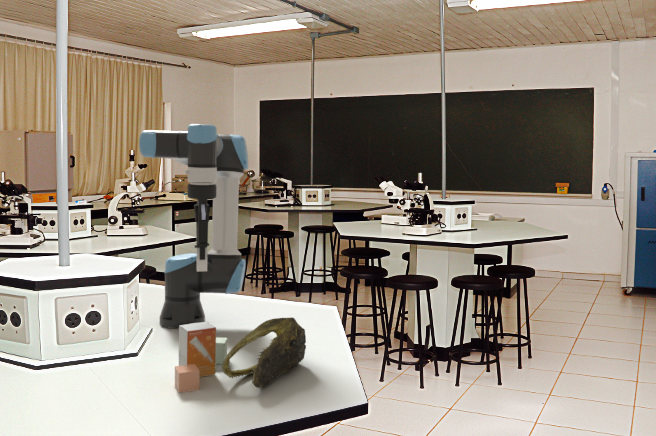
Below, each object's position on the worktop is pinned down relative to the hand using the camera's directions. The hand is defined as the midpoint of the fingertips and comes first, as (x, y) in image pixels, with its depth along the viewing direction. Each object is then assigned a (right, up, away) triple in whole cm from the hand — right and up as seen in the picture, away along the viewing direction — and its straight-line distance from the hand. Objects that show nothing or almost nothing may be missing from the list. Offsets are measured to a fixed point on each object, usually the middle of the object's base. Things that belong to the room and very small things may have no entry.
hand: (201, 270), depth 163 cm
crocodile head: (+19, -28, -3) cm, 34 cm away
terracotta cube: (-1, -28, -12) cm, 31 cm away
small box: (-1, -27, -2) cm, 27 cm away
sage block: (+3, -26, +8) cm, 27 cm away
